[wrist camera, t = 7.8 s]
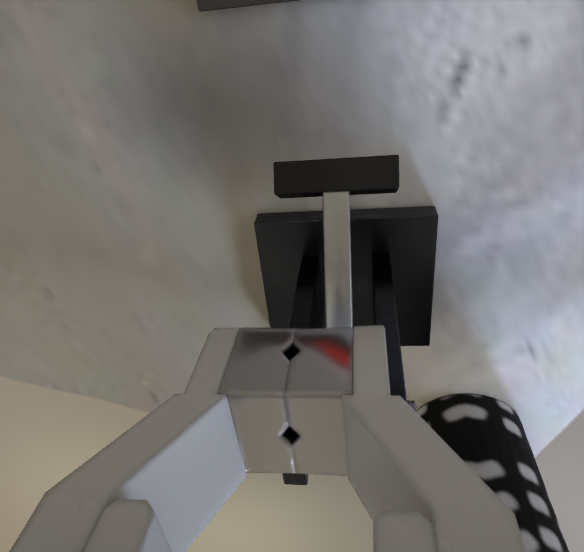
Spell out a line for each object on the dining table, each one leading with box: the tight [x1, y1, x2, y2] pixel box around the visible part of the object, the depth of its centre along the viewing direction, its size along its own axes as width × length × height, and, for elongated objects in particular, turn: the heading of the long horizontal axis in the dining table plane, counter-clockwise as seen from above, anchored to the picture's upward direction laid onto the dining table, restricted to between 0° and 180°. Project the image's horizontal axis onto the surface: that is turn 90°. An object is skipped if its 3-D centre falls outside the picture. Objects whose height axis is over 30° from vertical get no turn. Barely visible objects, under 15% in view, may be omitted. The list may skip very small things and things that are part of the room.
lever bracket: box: [254, 206, 438, 485], centre depth 24 cm, size 9×10×13 cm
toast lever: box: [274, 155, 399, 331], centre depth 20 cm, size 12×5×2 cm
